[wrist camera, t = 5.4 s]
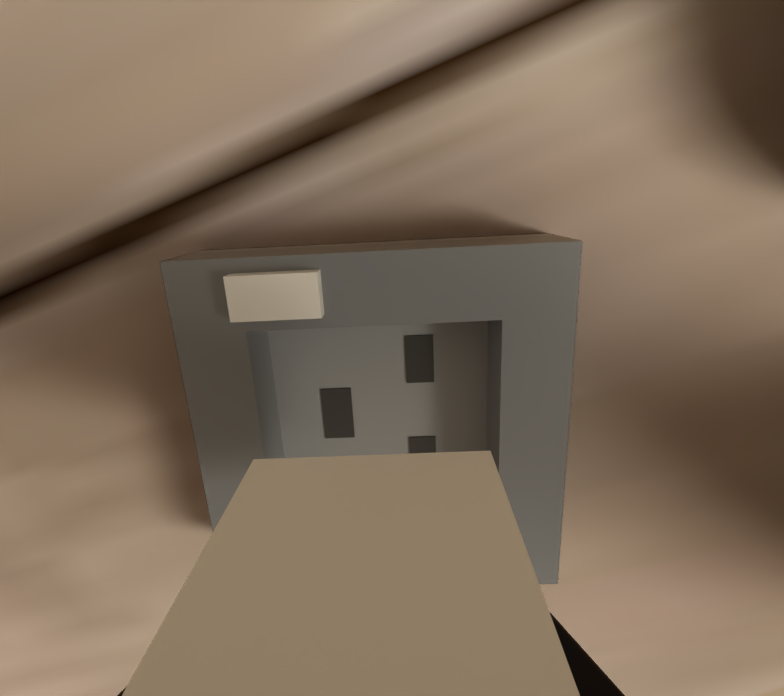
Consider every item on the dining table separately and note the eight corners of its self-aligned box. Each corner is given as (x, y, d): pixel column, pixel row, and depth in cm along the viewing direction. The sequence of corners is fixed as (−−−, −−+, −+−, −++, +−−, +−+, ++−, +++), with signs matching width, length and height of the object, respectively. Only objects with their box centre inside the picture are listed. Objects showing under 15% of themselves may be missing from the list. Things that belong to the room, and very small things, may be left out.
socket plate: (548, 233, 15) (590, 242, 12) (533, 526, 18) (563, 595, 15) (201, 250, 15) (149, 264, 12) (250, 536, 18) (219, 606, 15)
